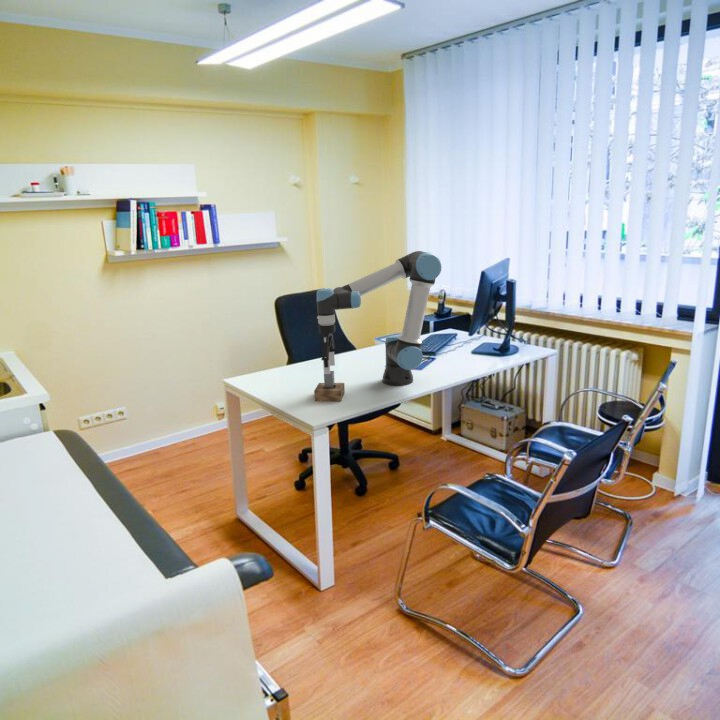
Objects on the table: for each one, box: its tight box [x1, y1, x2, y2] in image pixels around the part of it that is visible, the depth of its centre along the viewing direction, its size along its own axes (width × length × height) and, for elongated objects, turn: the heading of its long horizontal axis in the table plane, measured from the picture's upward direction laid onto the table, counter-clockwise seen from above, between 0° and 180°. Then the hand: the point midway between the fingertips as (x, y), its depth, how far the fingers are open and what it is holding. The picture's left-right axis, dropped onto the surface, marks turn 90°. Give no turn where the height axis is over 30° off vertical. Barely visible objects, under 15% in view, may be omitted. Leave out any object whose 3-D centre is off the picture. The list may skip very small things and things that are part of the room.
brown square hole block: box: [313, 382, 345, 402], centre depth 269 cm, size 12×12×5 cm
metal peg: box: [323, 370, 335, 389], centre depth 268 cm, size 4×4×12 cm
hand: (329, 369), depth 266 cm, fingers open, 13 cm apart
